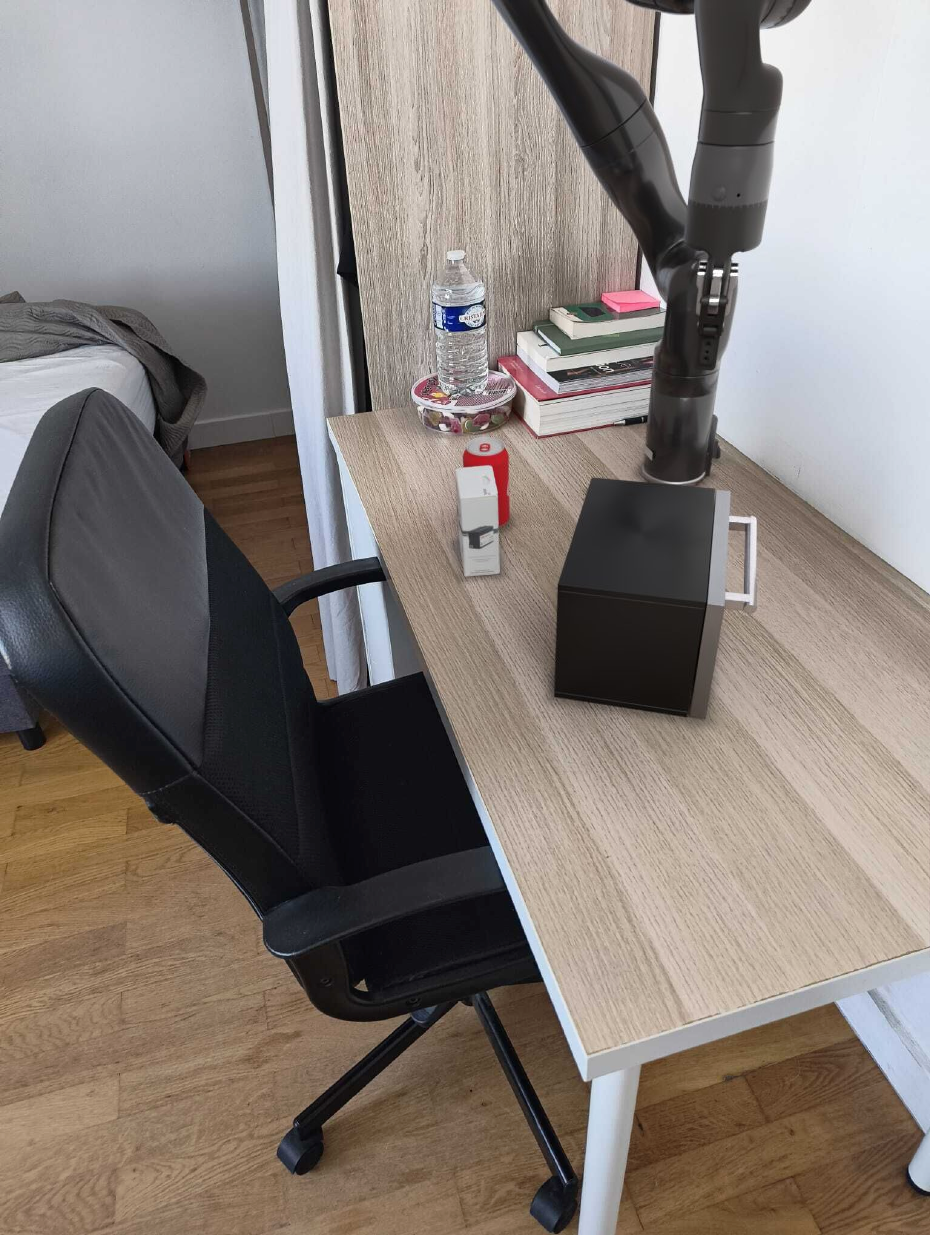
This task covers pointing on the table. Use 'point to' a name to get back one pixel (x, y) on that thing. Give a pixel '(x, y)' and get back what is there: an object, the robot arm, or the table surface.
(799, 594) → the table surface
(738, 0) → the robot arm
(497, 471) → the beverage can
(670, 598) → the oven
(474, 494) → the ink box
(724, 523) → the oven door
